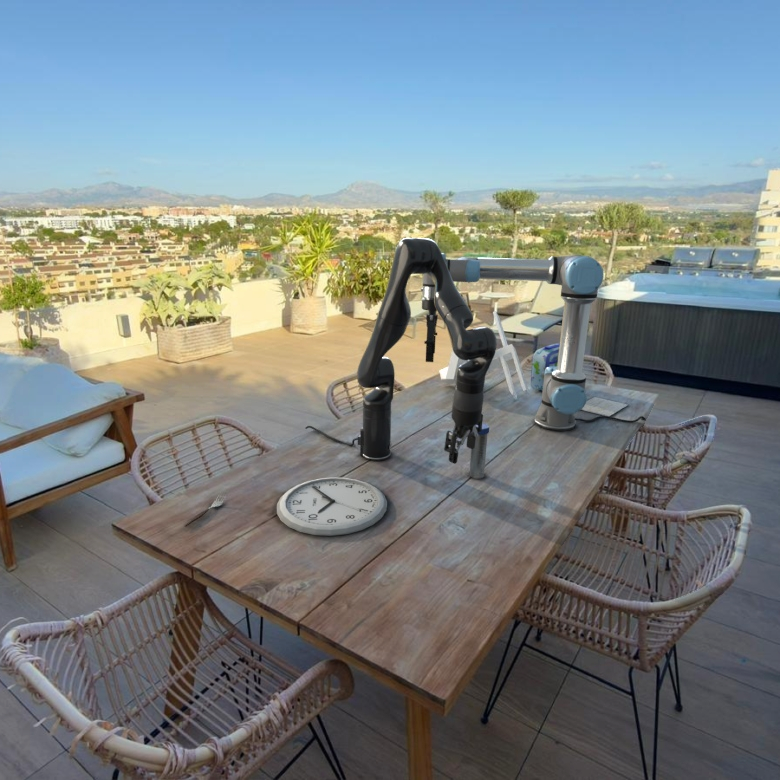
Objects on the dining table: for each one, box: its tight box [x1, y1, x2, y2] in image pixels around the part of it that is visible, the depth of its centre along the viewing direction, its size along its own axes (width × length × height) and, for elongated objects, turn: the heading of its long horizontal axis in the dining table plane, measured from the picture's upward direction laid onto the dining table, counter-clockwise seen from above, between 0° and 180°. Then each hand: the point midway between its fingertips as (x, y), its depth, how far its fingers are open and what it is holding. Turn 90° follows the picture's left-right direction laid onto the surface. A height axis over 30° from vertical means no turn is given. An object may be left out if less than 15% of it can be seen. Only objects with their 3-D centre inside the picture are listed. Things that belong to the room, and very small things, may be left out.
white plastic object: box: [438, 310, 531, 400], centre depth 245 cm, size 37×45×31 cm
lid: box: [476, 422, 490, 435], centre depth 157 cm, size 5×5×2 cm
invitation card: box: [580, 396, 629, 417], centre depth 226 cm, size 21×1×15 cm
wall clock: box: [276, 476, 388, 537], centre depth 142 cm, size 30×2×30 cm
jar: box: [469, 434, 488, 480], centre depth 159 cm, size 4×4×16 cm
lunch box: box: [530, 343, 560, 391], centre depth 249 cm, size 26×11×21 cm, turn 134°
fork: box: [184, 492, 228, 527], centre depth 137 cm, size 3×16×2 cm, turn 160°
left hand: (461, 454), depth 140 cm, fingers open, 8 cm apart
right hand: (430, 357), depth 190 cm, fingers open, 13 cm apart
